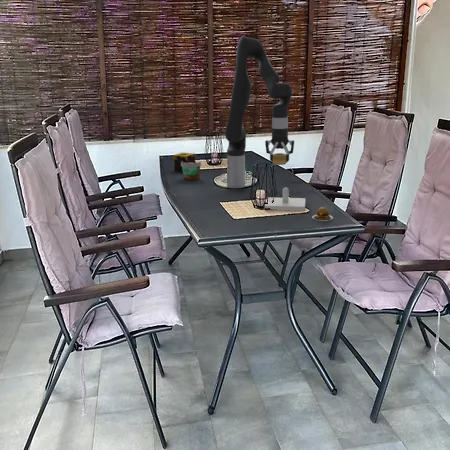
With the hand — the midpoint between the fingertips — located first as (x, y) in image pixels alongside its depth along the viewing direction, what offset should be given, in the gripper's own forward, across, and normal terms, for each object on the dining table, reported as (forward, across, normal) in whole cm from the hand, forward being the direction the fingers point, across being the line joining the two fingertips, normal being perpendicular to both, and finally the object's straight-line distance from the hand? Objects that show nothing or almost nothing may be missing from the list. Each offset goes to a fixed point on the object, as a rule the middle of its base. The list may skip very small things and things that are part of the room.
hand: (279, 162), depth 242 cm
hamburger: (+19, +20, -32) cm, 42 cm away
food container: (+18, -53, +35) cm, 66 cm away
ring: (+1, 0, 0) cm, 1 cm away
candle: (+18, -62, +61) cm, 89 cm away
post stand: (+18, +4, -15) cm, 23 cm away
